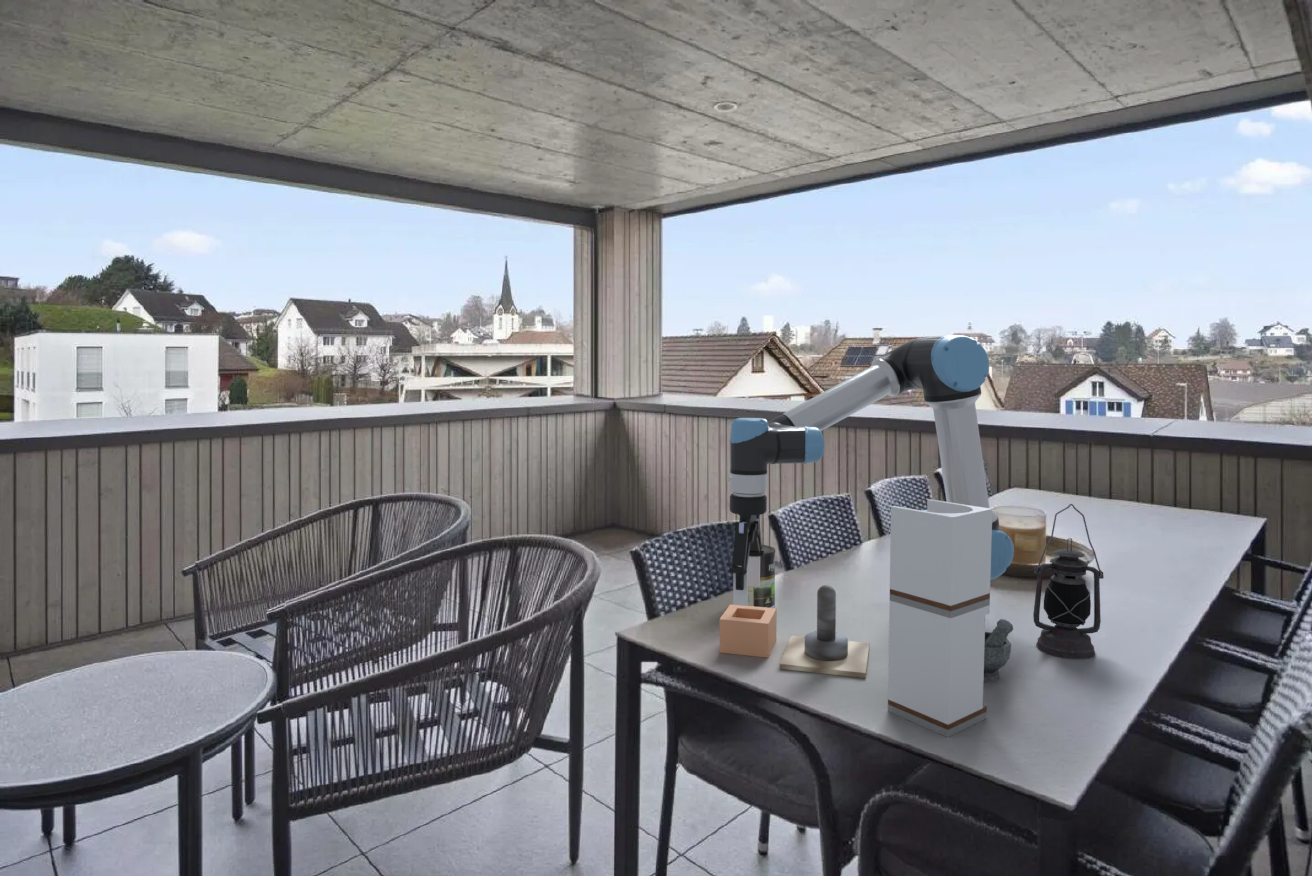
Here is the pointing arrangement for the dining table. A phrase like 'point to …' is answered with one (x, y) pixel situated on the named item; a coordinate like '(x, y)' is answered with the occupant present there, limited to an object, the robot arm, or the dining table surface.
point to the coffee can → (764, 581)
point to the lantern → (1067, 603)
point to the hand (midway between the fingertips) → (747, 595)
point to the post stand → (826, 645)
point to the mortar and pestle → (996, 650)
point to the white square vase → (939, 614)
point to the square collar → (748, 630)
